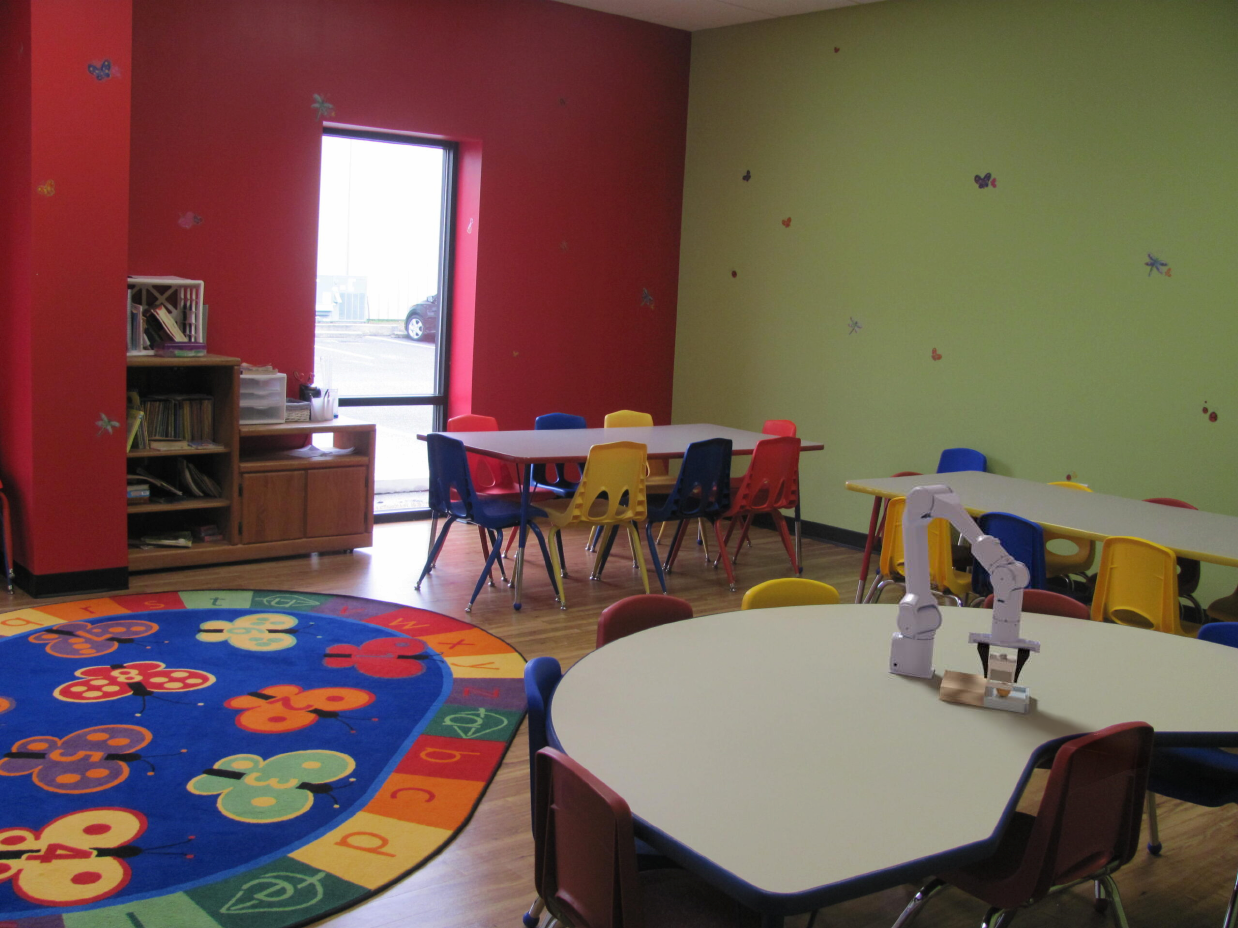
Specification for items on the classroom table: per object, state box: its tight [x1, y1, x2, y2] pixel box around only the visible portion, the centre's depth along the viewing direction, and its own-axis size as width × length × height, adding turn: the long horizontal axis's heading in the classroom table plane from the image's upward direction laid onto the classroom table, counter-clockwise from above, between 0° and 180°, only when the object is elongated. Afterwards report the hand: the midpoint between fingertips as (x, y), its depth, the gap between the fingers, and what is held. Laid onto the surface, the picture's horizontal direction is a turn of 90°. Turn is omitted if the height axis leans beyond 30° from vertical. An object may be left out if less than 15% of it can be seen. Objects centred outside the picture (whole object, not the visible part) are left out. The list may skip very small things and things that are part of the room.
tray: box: [982, 680, 1031, 715], centre depth 234 cm, size 9×12×2 cm
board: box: [938, 669, 987, 707], centre depth 238 cm, size 9×12×3 cm
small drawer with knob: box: [986, 651, 1017, 691], centre depth 234 cm, size 5×5×7 cm
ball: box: [996, 682, 1011, 697], centre depth 234 cm, size 3×3×3 cm
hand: (1000, 679), depth 235 cm, fingers closed on small drawer with knob, 5 cm apart
